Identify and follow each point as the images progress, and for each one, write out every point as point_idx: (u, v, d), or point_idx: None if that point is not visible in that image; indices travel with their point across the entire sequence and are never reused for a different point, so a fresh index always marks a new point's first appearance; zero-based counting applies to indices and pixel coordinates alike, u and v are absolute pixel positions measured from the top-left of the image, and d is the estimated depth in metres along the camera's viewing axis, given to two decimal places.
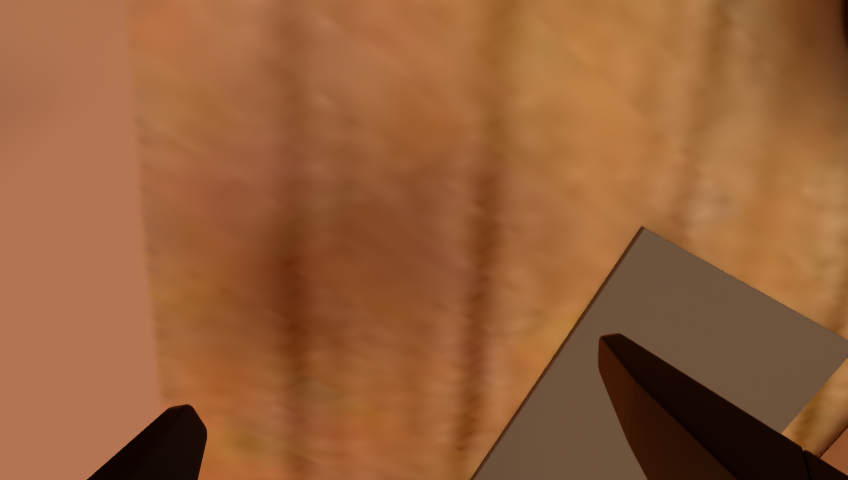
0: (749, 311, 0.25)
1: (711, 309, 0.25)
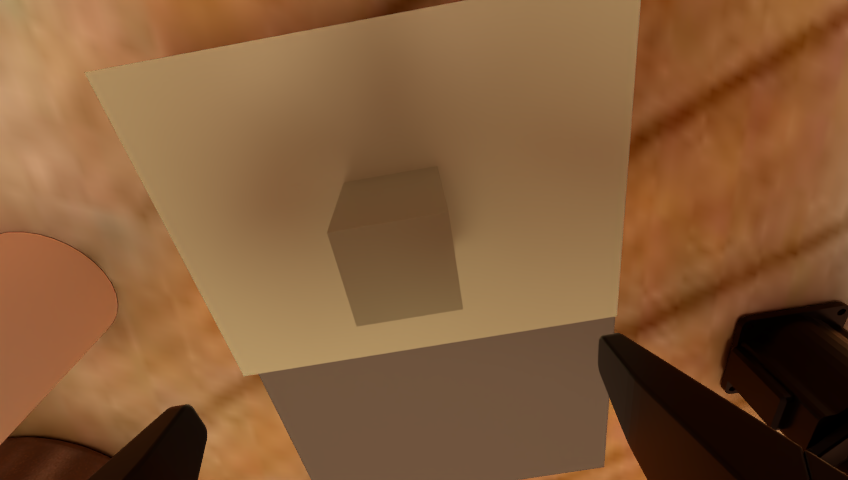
0: (309, 437, 0.29)
1: (331, 453, 0.30)
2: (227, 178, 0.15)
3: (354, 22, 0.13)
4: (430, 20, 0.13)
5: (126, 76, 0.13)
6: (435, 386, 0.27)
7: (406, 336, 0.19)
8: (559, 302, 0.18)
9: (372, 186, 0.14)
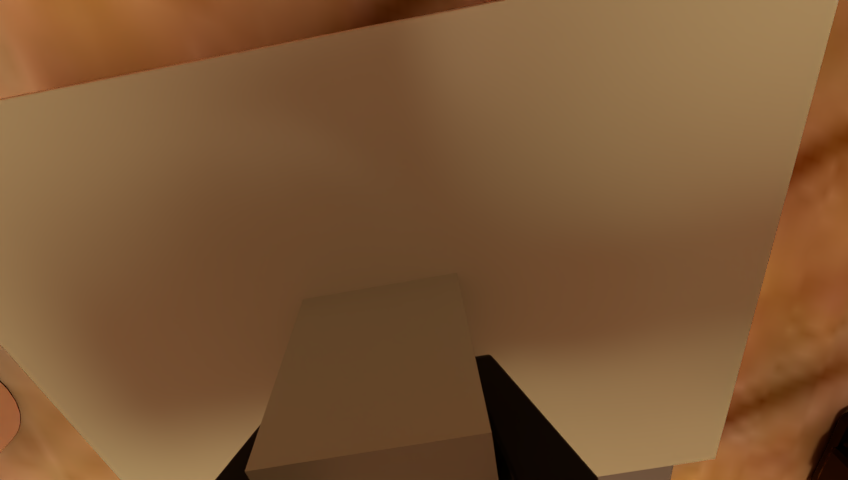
0: None
1: None
2: (109, 298, 0.09)
3: (306, 42, 0.07)
4: (447, 36, 0.07)
5: None
6: None
7: None
8: (634, 445, 0.12)
9: (347, 317, 0.08)
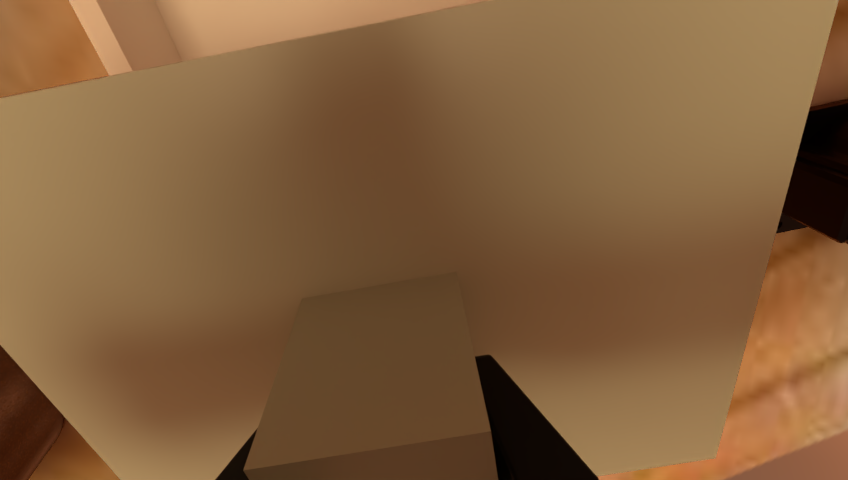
0: None
1: None
2: (107, 297, 0.09)
3: (304, 40, 0.07)
4: (447, 34, 0.07)
5: None
6: None
7: None
8: (634, 444, 0.12)
9: (347, 316, 0.08)
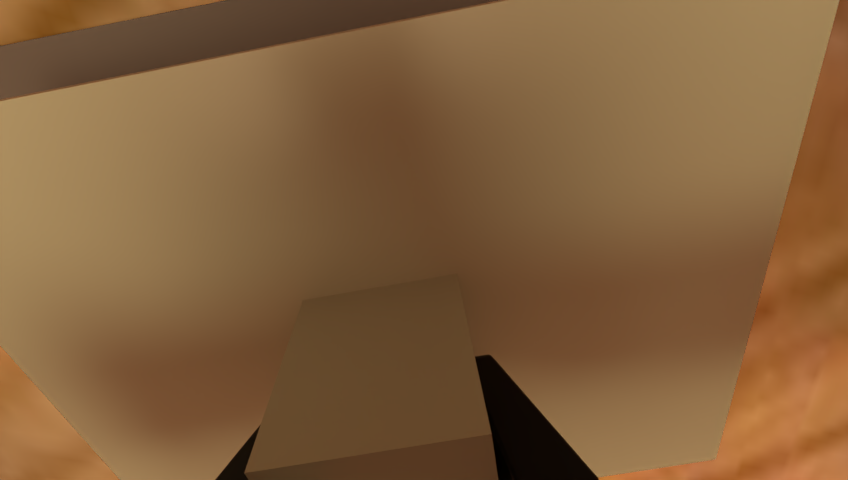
0: None
1: None
2: (108, 298, 0.09)
3: (305, 42, 0.07)
4: (447, 37, 0.07)
5: None
6: None
7: None
8: (634, 445, 0.12)
9: (347, 318, 0.08)
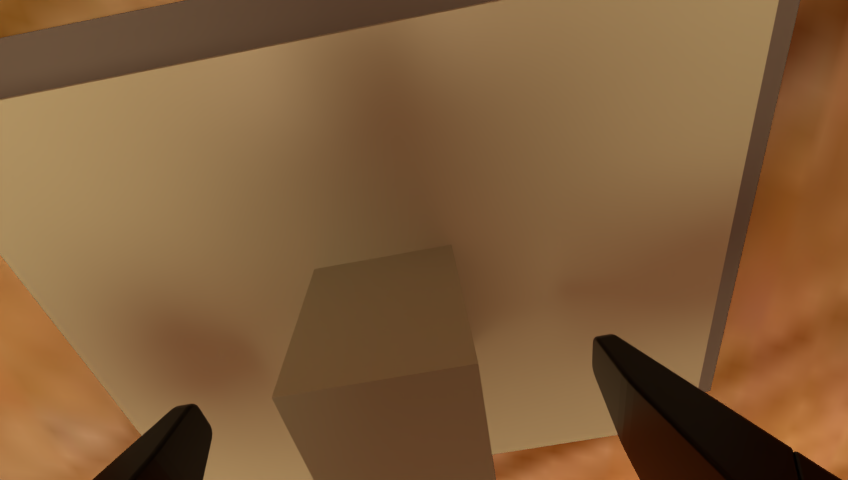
0: None
1: None
2: (142, 266, 0.10)
3: (320, 38, 0.08)
4: (442, 33, 0.08)
5: None
6: None
7: None
8: None
9: (355, 282, 0.10)
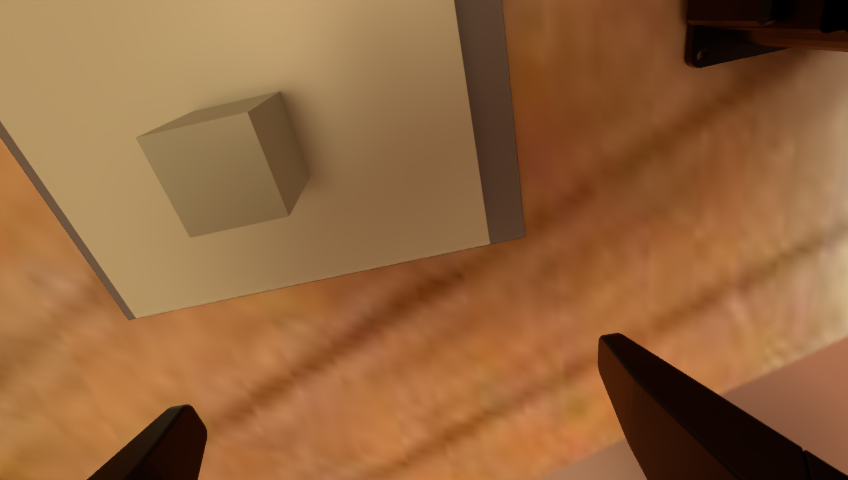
0: None
1: None
2: (79, 110, 0.16)
3: None
4: None
5: None
6: None
7: (287, 271, 0.20)
8: (430, 231, 0.19)
9: (211, 109, 0.15)
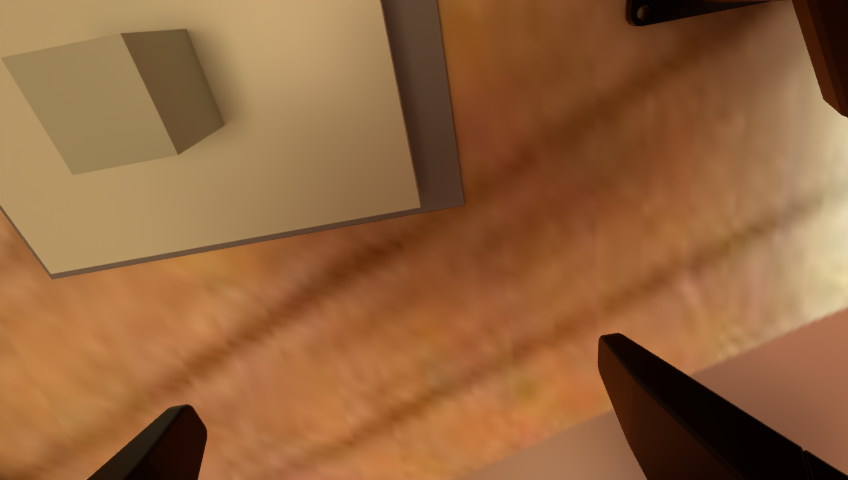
0: None
1: None
2: None
3: None
4: None
5: None
6: None
7: (207, 229, 0.19)
8: (356, 190, 0.18)
9: None
